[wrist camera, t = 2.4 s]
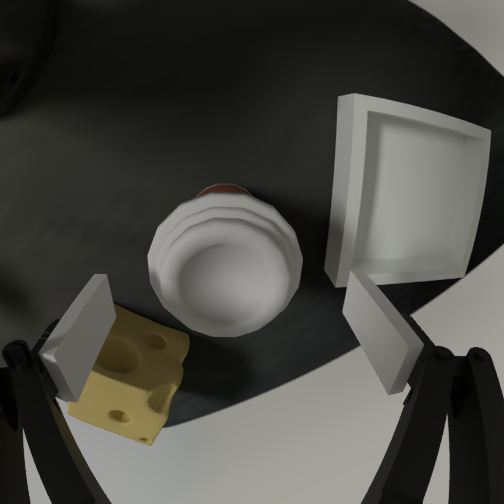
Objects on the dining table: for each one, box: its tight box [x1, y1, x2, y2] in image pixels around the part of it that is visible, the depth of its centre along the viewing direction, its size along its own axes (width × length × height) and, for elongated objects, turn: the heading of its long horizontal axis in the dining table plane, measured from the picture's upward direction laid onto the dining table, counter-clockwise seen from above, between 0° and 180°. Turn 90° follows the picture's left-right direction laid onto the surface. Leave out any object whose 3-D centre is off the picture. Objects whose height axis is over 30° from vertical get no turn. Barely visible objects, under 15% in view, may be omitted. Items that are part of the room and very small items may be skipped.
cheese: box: [67, 303, 190, 446], centre depth 27 cm, size 10×11×10 cm
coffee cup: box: [148, 183, 303, 337], centre depth 21 cm, size 9×9×12 cm
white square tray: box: [324, 93, 491, 287], centre depth 25 cm, size 17×17×4 cm
